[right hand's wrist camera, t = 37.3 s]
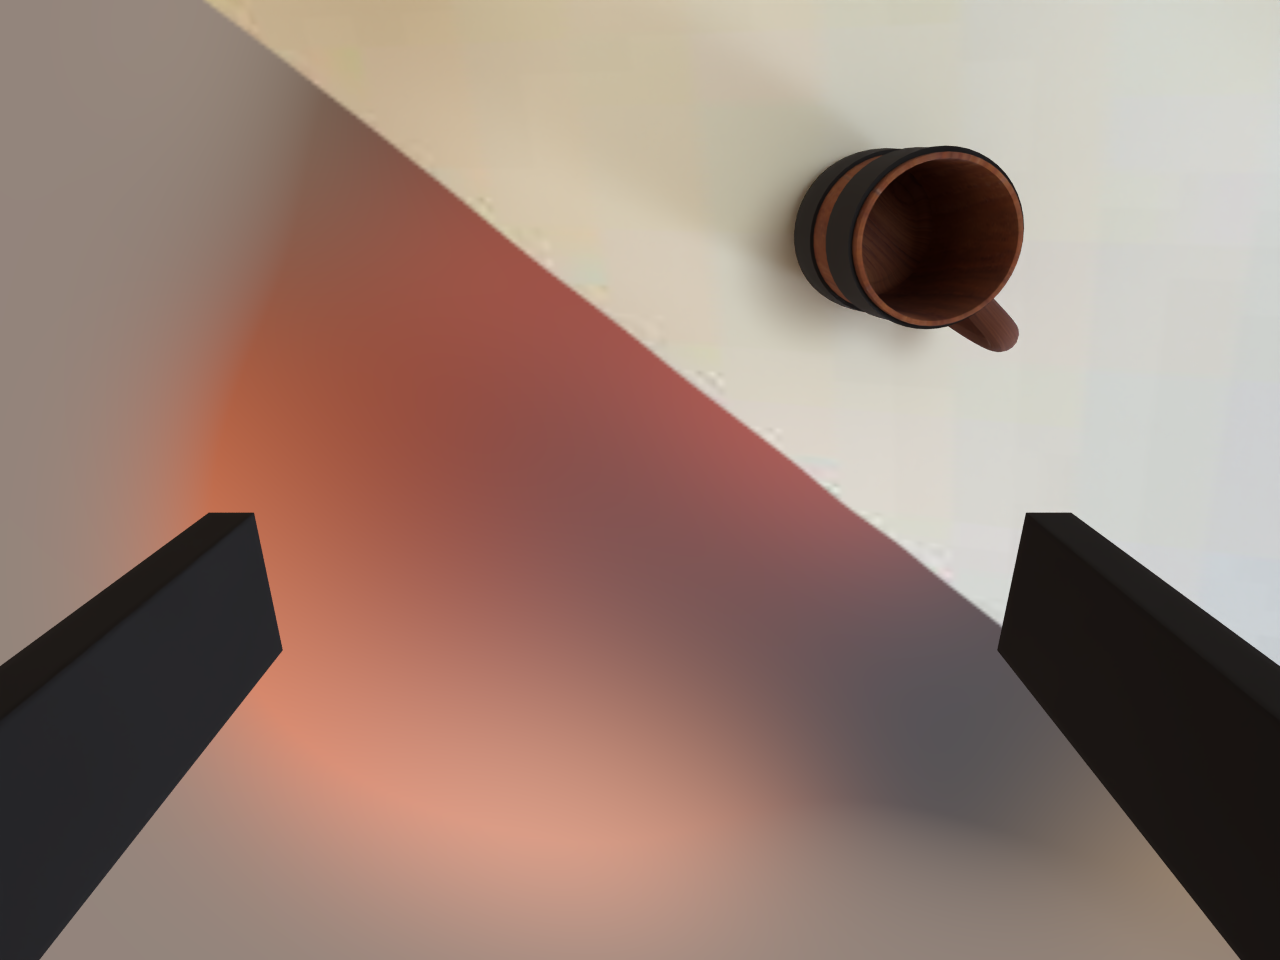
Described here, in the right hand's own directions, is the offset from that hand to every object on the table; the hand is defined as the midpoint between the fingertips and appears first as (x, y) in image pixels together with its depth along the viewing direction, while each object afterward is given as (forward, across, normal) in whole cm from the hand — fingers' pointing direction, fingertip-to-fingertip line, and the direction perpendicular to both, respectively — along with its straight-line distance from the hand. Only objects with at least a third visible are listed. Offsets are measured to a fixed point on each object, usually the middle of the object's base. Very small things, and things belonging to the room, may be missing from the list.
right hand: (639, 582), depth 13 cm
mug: (+34, -14, -3) cm, 38 cm away
